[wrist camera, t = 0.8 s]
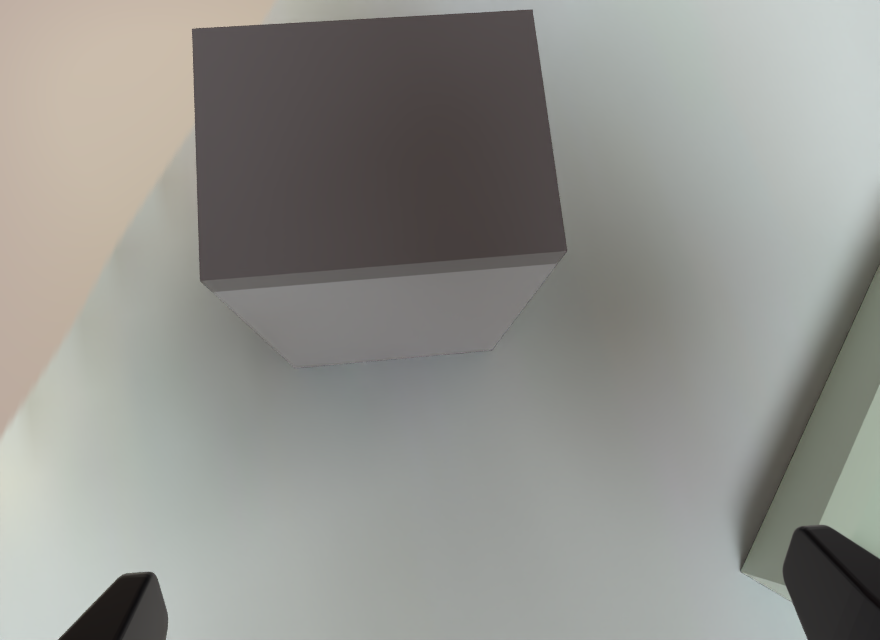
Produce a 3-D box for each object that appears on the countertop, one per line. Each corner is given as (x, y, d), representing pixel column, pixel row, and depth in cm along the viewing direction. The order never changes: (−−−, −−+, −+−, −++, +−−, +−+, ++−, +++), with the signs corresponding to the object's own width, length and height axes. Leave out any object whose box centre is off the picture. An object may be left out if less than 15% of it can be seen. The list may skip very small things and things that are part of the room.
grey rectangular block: (491, 350, 23) (567, 251, 13) (294, 368, 23) (200, 280, 12) (472, 181, 25) (525, -39, 14) (284, 195, 24) (190, -22, 13)
